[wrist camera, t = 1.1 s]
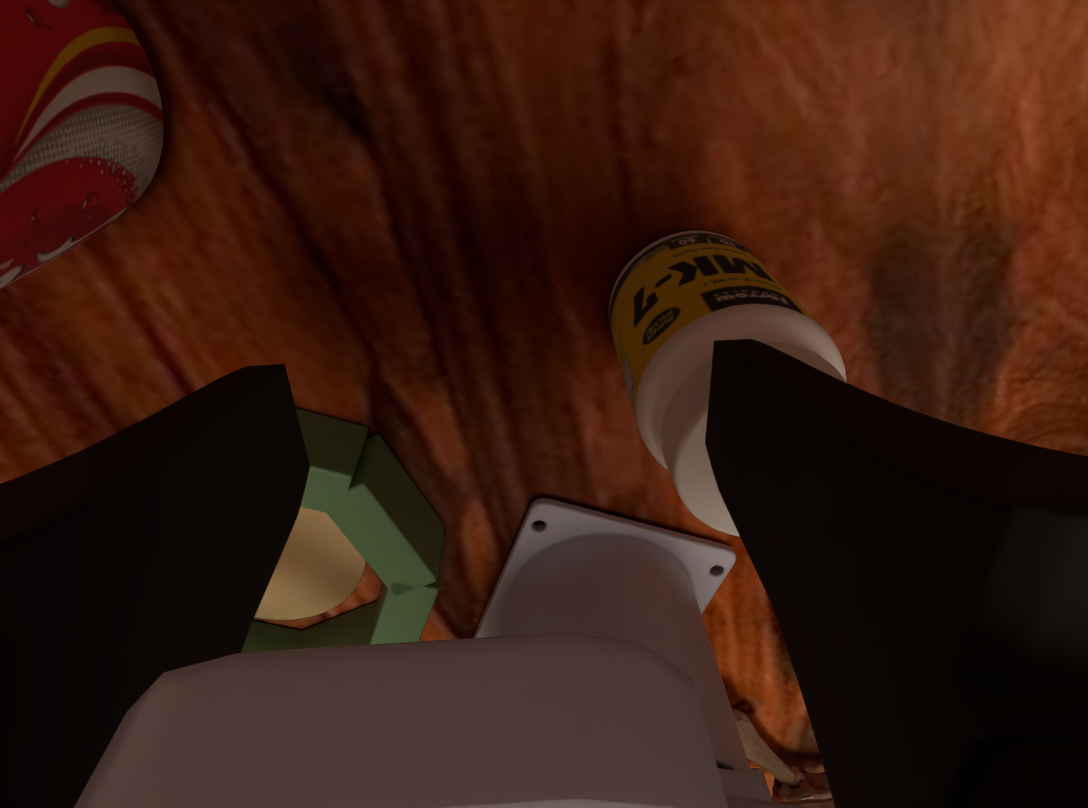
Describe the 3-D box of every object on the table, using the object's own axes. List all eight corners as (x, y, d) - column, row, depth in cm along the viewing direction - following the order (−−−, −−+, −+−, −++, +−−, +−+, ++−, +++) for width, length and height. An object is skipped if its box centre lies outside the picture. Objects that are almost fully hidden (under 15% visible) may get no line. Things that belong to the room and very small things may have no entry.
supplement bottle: (745, 202, 19) (887, 318, 12) (776, 344, 22) (910, 515, 14) (584, 261, 20) (626, 405, 13) (630, 393, 22) (688, 579, 15)
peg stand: (348, 624, 27) (316, 742, 23) (165, 586, 26) (94, 704, 21) (388, 491, 24) (361, 599, 20) (183, 440, 22) (104, 543, 18)
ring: (393, 676, 29) (382, 738, 26) (93, 617, 26) (50, 679, 24) (475, 454, 23) (471, 506, 21) (108, 356, 21) (55, 402, 18)
